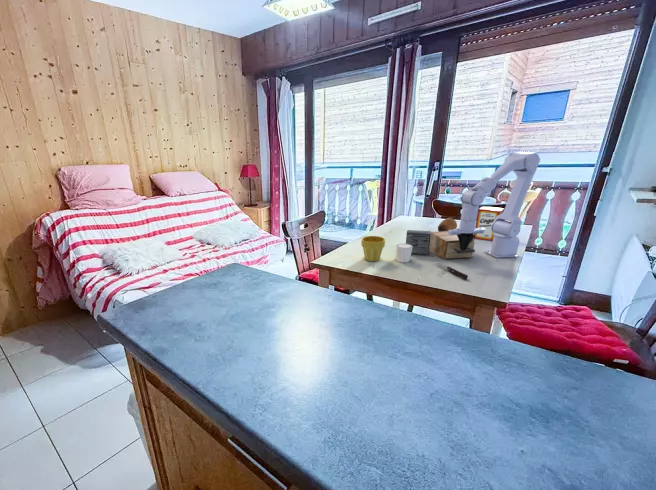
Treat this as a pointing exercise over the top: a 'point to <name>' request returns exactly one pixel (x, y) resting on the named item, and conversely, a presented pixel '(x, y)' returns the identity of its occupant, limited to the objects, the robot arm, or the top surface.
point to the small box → (419, 241)
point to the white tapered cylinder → (403, 252)
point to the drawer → (459, 250)
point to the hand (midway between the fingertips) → (463, 249)
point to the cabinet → (442, 243)
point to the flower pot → (372, 247)
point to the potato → (447, 225)
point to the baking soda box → (486, 221)
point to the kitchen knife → (452, 271)
